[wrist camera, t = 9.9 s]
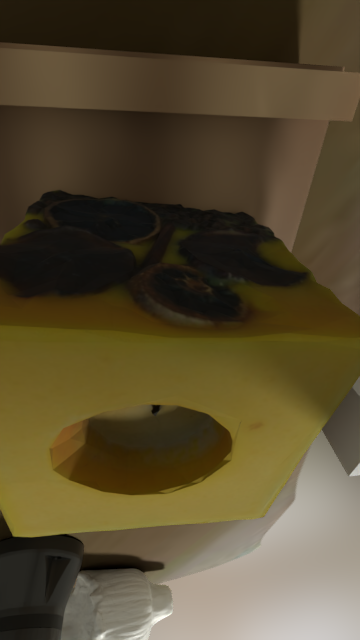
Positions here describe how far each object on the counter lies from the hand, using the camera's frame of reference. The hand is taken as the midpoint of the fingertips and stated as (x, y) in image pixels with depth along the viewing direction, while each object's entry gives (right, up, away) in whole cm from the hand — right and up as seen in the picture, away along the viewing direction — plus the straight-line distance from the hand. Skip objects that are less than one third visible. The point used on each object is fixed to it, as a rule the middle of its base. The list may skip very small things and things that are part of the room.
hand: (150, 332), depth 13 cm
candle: (0, +2, +3) cm, 4 cm away
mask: (-12, -54, +49) cm, 74 cm away
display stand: (-1, +5, +6) cm, 8 cm away
